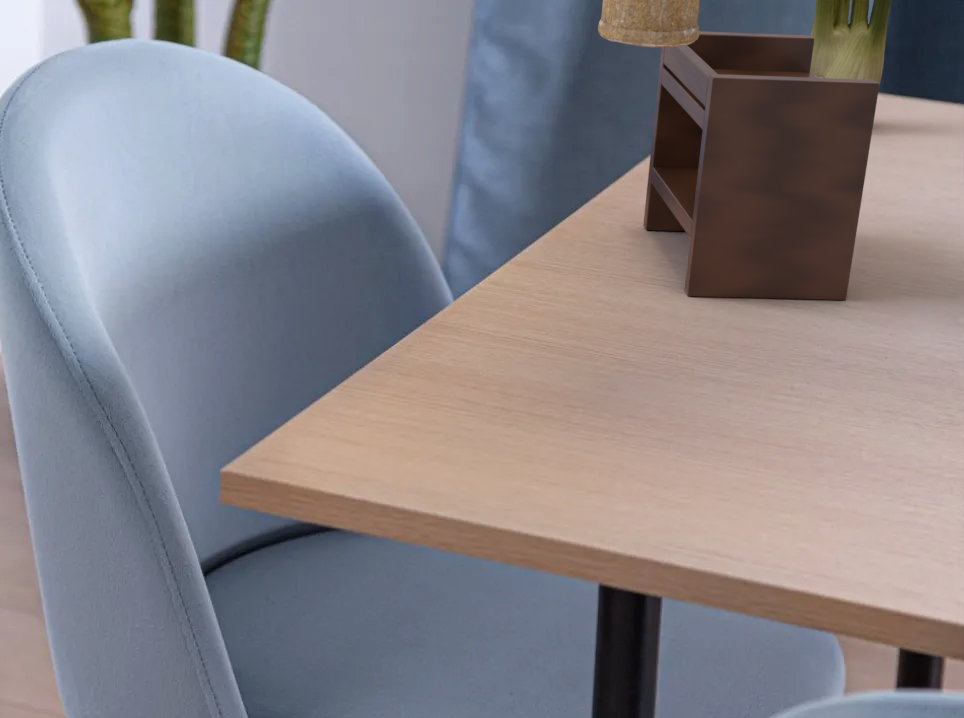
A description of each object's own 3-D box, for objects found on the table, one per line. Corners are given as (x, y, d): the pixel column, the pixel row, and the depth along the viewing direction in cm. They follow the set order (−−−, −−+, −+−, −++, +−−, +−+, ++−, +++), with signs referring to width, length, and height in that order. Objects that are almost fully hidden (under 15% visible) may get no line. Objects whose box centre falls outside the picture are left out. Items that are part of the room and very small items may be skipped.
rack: (783, 229, 111) (810, 35, 106) (846, 300, 99) (880, 83, 93) (642, 225, 110) (663, 29, 105) (687, 296, 98) (712, 77, 93)
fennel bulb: (877, 127, 140) (902, -31, 134) (857, 137, 136) (882, -24, 131) (807, 115, 142) (829, -39, 137) (786, 126, 138) (807, -33, 133)
